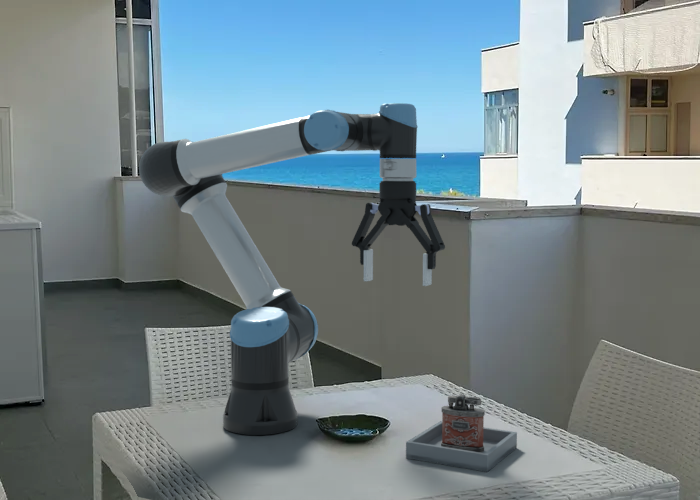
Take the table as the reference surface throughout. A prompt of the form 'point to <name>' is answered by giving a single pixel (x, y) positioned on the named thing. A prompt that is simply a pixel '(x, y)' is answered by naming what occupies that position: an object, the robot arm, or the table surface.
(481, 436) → the lighter
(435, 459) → the tray
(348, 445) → the table surface
